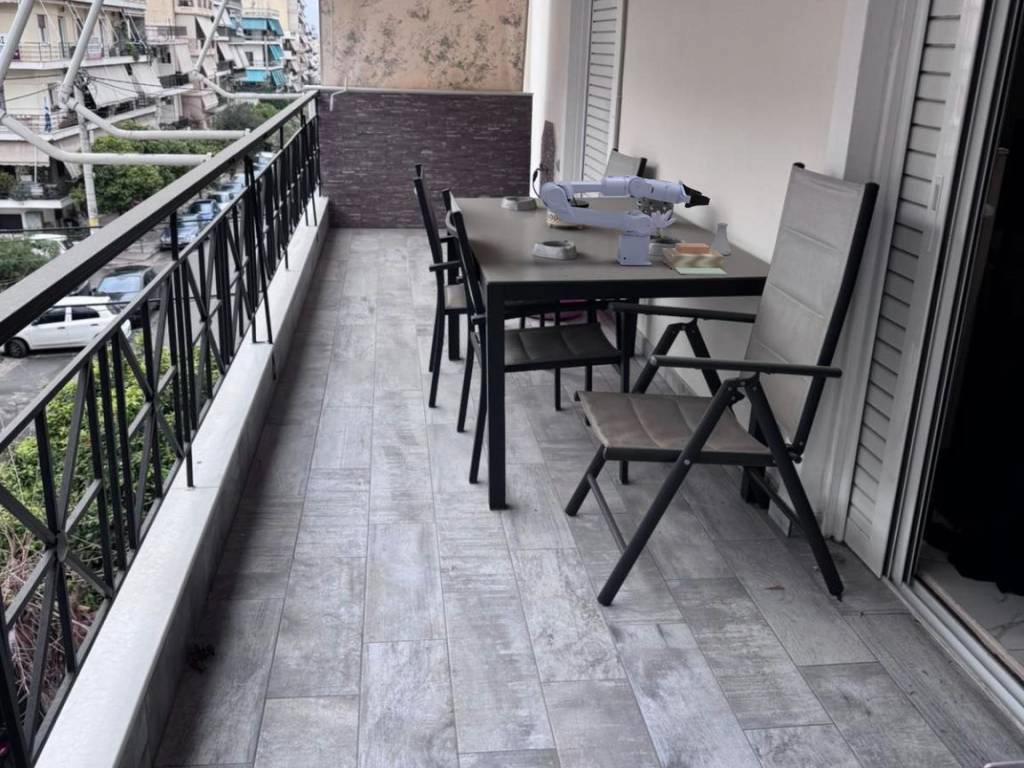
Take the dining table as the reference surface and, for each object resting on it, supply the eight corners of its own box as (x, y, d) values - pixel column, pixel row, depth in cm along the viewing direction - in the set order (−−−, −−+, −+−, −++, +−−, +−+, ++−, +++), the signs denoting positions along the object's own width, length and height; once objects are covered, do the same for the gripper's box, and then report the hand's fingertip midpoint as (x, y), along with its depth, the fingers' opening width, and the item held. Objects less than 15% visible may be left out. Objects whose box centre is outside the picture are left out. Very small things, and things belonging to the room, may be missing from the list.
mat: (680, 274, 270) (680, 273, 270) (674, 269, 277) (674, 267, 277) (726, 275, 271) (727, 273, 271) (719, 269, 278) (719, 268, 278)
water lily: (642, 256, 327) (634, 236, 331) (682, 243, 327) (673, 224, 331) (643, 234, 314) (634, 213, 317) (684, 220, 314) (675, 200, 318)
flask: (720, 257, 296) (723, 226, 293) (703, 253, 302) (706, 222, 298) (735, 254, 300) (738, 224, 297) (718, 250, 306) (721, 220, 303)
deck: (670, 269, 277) (672, 255, 275) (661, 260, 288) (662, 247, 287) (722, 269, 278) (724, 256, 277) (711, 261, 289) (713, 248, 288)
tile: (680, 253, 280) (680, 246, 279) (675, 249, 285) (676, 243, 284) (709, 253, 280) (709, 247, 280) (703, 249, 286) (704, 243, 285)
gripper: (673, 183, 269) (716, 191, 272) (659, 173, 282) (700, 180, 285) (667, 206, 272) (709, 214, 274) (654, 195, 285) (694, 203, 288)
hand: (704, 198), depth 280 cm, fingers open, 7 cm apart
